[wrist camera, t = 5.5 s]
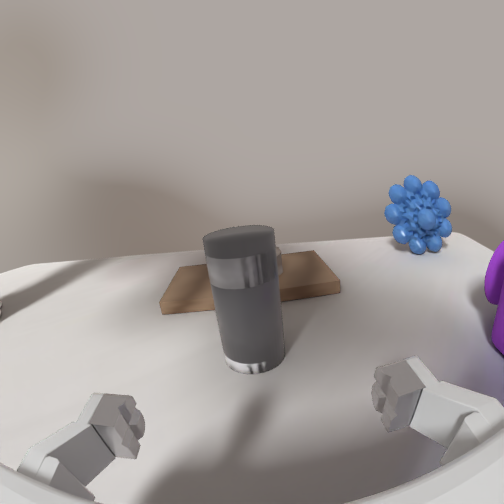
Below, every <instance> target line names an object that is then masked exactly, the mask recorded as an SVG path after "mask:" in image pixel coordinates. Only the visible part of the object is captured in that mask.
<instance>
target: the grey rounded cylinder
mask: <svg viewBox="0 0 504 504" xmlns="http://www.w3.org/2000/svg"><path fill="white" fill-rule="evenodd" d="M203 243H204V250H205V256H206V262H207V267H208V273H209V279H210V284H211V290H212V295H213V300H214V305H215V311H216V316H217V321H218V326H219V331H220V336H221V340H222V345H223V350H224V355H225V359H226V363H227V365H228V366H229V367H230V368H231V369H233V370H234V371H237V372H240V373H244V374H258V373H263V372H267V371H269V370H272V369H273V368H275V367H277V366H278V365H279V364H280V363H281V362H282V361H283V359H284V356H285V347H284V334H283V322H282V310H281V299H280V288H279V277H278V266H277V256H276V245H275V236H274V229H273V228H272V227H268V226H262V225H249V226H238V227H232V228H226V229H222V230H218V231H215V232H212V233H209V234H207V235H206V236H204V237H203Z"/></svg>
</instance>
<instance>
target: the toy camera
mask: <svg viewBox="0 0 504 504" xmlns="http://www.w3.org/2000/svg"><path fill="white" fill-rule="evenodd" d="M485 295H486V297H487V299H488V301H489V302H490V303H492V304H495V305H498V308H497V312H496V316H495V321H494V325H493V329H492V342H493V344H494V345H495V346H496V348H497V349H498V350H499V351H500V352H501V353H502V354H503V355H504V241H503V242H502V243H501V244H500V245H499V246H498V247H497V249H496V251H495V252H494V254H493V256H492V258H491V260H490V262H489V265H488V268H487V272H486V276H485Z"/></svg>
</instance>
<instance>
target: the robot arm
mask: <svg viewBox="0 0 504 504" xmlns="http://www.w3.org/2000/svg"><path fill="white" fill-rule="evenodd" d="M1 306H2V303H1V301H0V307H1ZM0 315H1V310H0ZM374 378H375V379H376V382H375V383H374V385H373V386H372V392H371V394H372V401H373V405H374V407H375V409H376V411H378V412H380V413H382V417H381V421H382V423H383V425H384V427H385V428H386V430H387V432H392V431H395V430H398V429H401V428H404V427H406V426H409V425H410V427H411V428H413V429H415V430H416V431H418V432H420V433H421V434H423V435H425V436H426V437H428V438H430V439H432V440H433V441H435V442H437V443H439V444H440V445H442V446H444V447H446V448H447V450H446V452H445V454H444V455H443V457H442V458H441V460H440V464H441V467H439V468H437V469H435V470H433V471H431V472H429V473H427V474H425V475H423V476H420V477H418V478H416V479H414V480H411V481H409V482H406V483H404V484H402V485H399V486H396V487H394V488H391V489H388V490H386V491H383V492H380V493H377V494H374V495H371V496H368V497H365V498H361V499H358V500H354V501H351V502H347V503H343V504H504V407H503V406H502V405H501V404H500V403H499V401H498V400H497V399H496V398H493V397H490V396H487V395H484V394H481V393H477V392H474V391H471V390H468V389H465V388H462V387H459V386H456V385H453V384H451V383H448V382H445V381H441V382H439V381H438V380H437V379H436V377H435V376H434V375H433V374H432V373H431V372H430V370H429V369H428V368H427V367H426V366H425V364H424V363H423V362H422V361H421V360H420V359H419V357H417V356H412V357H409V358H406V359H403V360H400V361H397V362H394V363H390V364H387V365H384V366H380V367H377V368H376V370H375V373H374ZM135 406H136V402H135V400H134V398H133V397H132V396H129V395H116V394H103V393H93V394H92V395H91V396H90V398H89V400H88V402H87V403H86V405H85V407H84V409H83V411H82V412H81V414H80V416H79V418H78V420H77V421H76V422H71V423H70V424H68V425H67V426H65V427H63V428H62V429H60V430H59V431H57V432H55V433H54V434H52V435H50V436H49V437H47V438H45V439H44V440H42V441H40V442H39V443H37V444H35V445H34V446H32V447H30V448H29V450H28V451H27V453H26V455H25V457H24V458H23V460H22V462H21V464H20V466H19V467H18V469H17V471H15V470H13V469H11V468H9V467H7V466H6V465H4V464H2V463H0V504H102V503H99V502H95V501H94V500H95V496H94V495H93V494H92V493H91V492H90V491H89V490H88V489H87V488H86V487H85V486H87V485H88V484H89V483H90V482H91V481H92V480H93V479H94V478H95V477H96V476H97V475H98V474H99V473H100V472H102V471H103V470H104V469H105V468H106V467H107V466H108V465H109V464H110V463H111V462H112V461H113V460H114V459H115V457H120V458H129V459H137V455H138V452H139V449H140V446H141V445H140V443H139V441H138V440H139V439H140V438H142V437H143V435H144V432H145V421H144V417H143V415H142V413H141V412H140V411H139V410H138V409H136V408H135Z"/></svg>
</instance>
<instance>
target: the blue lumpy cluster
mask: <svg viewBox="0 0 504 504" xmlns="http://www.w3.org/2000/svg"><path fill="white" fill-rule="evenodd" d="M404 187H405V188H404ZM404 187H402V186H401V185H397V184H395V185H393V186H392V187H390V190H389V196H390V198H391V201H392V202H393V203H394V204H390V205H388V206H387V207H386V208H385V217H386V219H387V221H388V222H390V223H391V224H395V225H396V226H394V229H393V236H394V238H395V240H396V241H397V242H398V243H401V244H406V243H408V242H409V247H410V249H411V251H412V252H413V253H415V254H422V253H423V252H425V250H426V245H427V248H428V249H429V250H430V251H434V252H437V251H439V250H440V249H441V247H442V239H441V237H445V238H446V237H448V236H449V235H450V234H451V232H452V226H451V223H450V222H449V221H448V220H447V219H446V217H448V216H449V215H450V213H451V206H450V204H449V202H448V201H447V200H446V199H445V198H441V197H440V198H439V195H440V191H439V189H438V186H437V185H436V184H435V183H434V182H432V181H426V182H425V183H423V185H422V184H421V181H420V180H419V179H418V178H417V177H415V176H412V175H409V176H408V177H406V178H405V180H404ZM440 236H441V237H440Z"/></svg>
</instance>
